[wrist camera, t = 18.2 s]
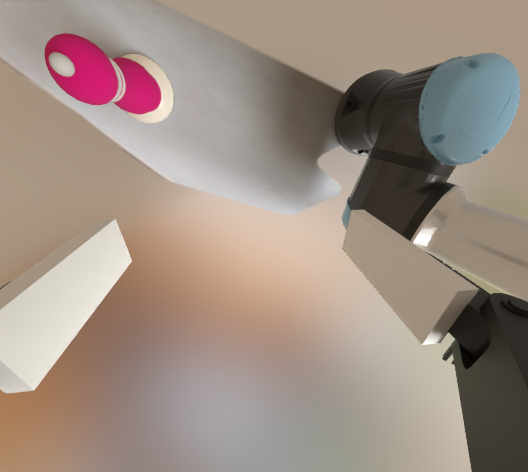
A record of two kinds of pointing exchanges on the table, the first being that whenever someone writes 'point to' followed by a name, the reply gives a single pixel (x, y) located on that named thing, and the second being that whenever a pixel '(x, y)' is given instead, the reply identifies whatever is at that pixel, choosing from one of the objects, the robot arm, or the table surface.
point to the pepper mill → (100, 75)
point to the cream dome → (165, 88)
